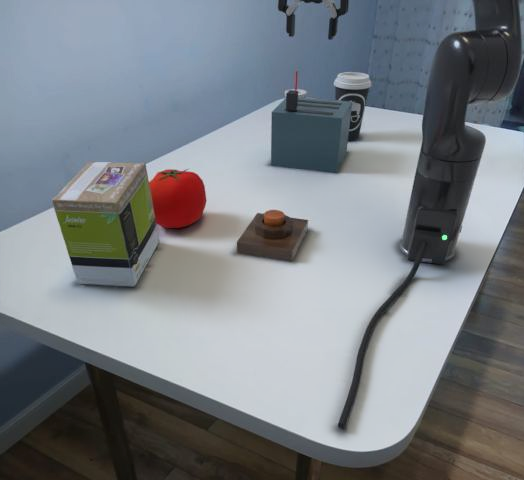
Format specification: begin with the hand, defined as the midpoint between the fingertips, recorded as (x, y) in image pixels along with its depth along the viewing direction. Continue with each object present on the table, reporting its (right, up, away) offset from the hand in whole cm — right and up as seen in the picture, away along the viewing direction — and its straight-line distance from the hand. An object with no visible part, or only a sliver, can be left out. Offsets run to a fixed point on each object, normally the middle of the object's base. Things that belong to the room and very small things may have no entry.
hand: (311, 37), depth 105 cm
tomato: (-27, -41, -8) cm, 50 cm away
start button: (-8, -44, -17) cm, 47 cm away
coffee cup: (+13, -8, +30) cm, 34 cm away
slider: (-4, -12, +7) cm, 14 cm away
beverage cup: (-1, -2, +37) cm, 37 cm away
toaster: (+1, -19, +18) cm, 26 cm away
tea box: (-35, -51, -20) cm, 65 cm away
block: (-8, -46, -14) cm, 49 cm away
